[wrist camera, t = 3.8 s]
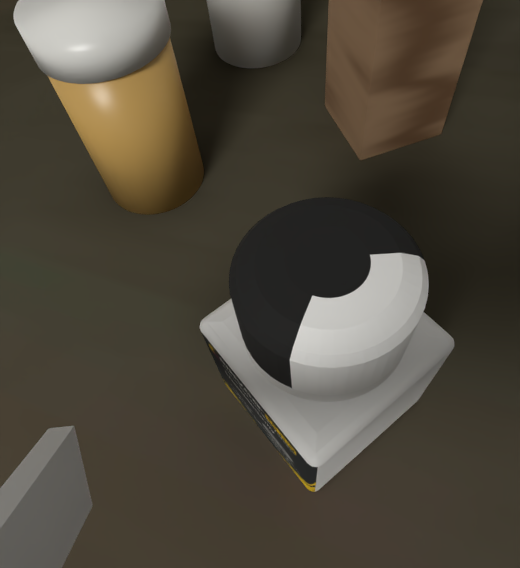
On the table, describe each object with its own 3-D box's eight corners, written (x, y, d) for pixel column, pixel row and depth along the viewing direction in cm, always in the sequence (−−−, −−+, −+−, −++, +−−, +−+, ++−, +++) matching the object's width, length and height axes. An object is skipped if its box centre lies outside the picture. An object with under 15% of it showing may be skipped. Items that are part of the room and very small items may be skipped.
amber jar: (206, 135, 34) (162, -49, 24) (207, 210, 31) (157, 32, 20) (111, 146, 35) (27, -31, 24) (101, 222, 31) (-1, 53, 21)
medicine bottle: (221, 380, 25) (161, 251, 15) (324, 301, 27) (334, 138, 16) (312, 496, 22) (317, 436, 11) (421, 398, 24) (510, 269, 13)
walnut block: (399, 82, 35) (432, -92, 26) (441, 134, 32) (496, -43, 23) (324, 105, 35) (331, -65, 25) (360, 160, 32) (382, -10, 22)
